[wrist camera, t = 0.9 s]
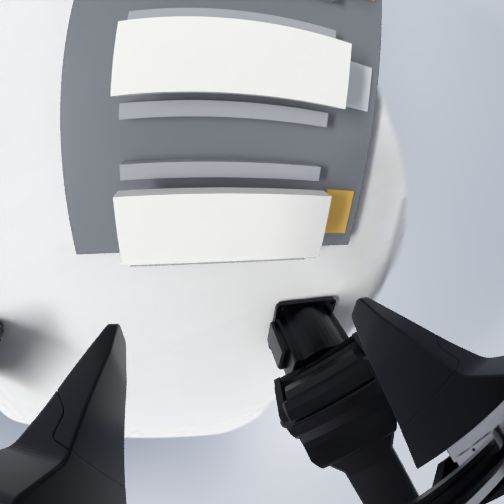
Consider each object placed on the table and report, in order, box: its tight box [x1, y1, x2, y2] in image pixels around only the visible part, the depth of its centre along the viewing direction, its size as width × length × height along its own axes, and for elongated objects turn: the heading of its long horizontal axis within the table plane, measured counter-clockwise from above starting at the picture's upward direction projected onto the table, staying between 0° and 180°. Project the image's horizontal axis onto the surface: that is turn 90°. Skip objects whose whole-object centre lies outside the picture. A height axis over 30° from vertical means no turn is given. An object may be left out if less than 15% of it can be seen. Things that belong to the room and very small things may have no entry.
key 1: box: [113, 187, 332, 265], centre depth 17 cm, size 13×4×1 cm, turn 85°
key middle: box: [110, 16, 352, 109], centre depth 12 cm, size 13×4×1 cm, turn 85°
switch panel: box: [60, 0, 382, 266], centre depth 14 cm, size 22×27×2 cm
